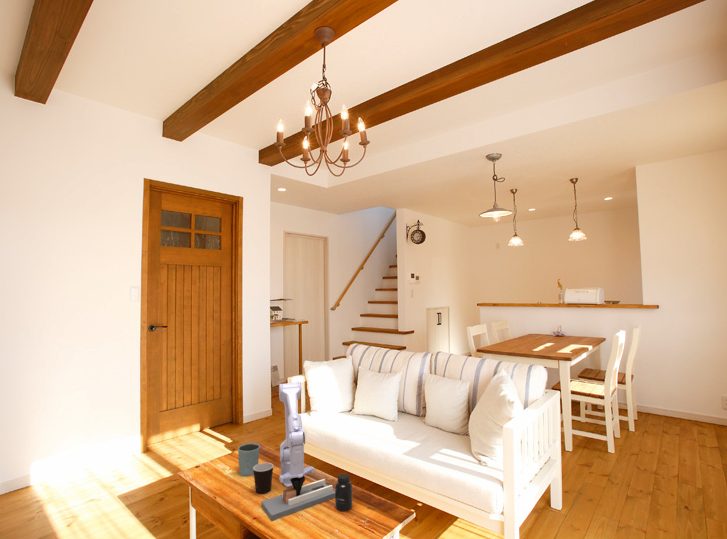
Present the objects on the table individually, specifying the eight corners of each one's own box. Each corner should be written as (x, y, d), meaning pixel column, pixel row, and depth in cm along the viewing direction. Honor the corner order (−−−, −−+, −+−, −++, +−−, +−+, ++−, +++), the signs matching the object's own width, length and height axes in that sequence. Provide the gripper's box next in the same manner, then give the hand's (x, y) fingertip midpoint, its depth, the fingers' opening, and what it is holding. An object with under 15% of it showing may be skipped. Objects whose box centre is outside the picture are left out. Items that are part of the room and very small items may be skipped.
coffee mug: (268, 496, 160) (267, 472, 160) (249, 494, 161) (249, 470, 162) (279, 482, 171) (279, 460, 172) (262, 481, 173) (261, 459, 173)
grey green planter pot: (236, 470, 185) (236, 445, 185) (258, 465, 189) (257, 441, 190) (239, 479, 175) (239, 452, 176) (261, 474, 180) (261, 448, 180)
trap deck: (261, 506, 152) (261, 501, 152) (322, 485, 167) (322, 481, 168) (271, 521, 142) (271, 515, 142) (336, 497, 158) (336, 492, 158)
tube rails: (282, 497, 155) (282, 492, 155) (324, 483, 165) (324, 478, 166) (289, 505, 148) (289, 500, 149) (332, 490, 159) (332, 485, 159)
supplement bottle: (337, 513, 146) (336, 481, 147) (333, 503, 153) (333, 473, 153) (354, 510, 148) (353, 478, 149) (350, 501, 155) (349, 471, 155)
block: (283, 499, 153) (282, 489, 153) (292, 496, 155) (292, 486, 155) (286, 504, 150) (286, 493, 150) (296, 500, 152) (296, 490, 152)
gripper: (284, 469, 148) (284, 505, 147) (317, 459, 156) (317, 493, 155) (277, 463, 154) (277, 497, 153) (309, 453, 162) (310, 486, 161)
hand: (297, 495), depth 154 cm, fingers closed
